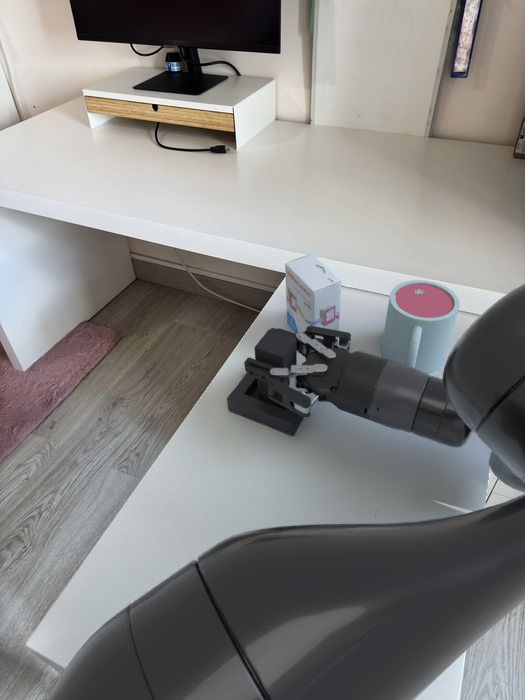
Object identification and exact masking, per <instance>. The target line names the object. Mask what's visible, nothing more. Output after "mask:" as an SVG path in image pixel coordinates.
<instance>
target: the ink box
mask: <svg viewBox="0 0 525 700" xmlns="http://www.w3.org/2000/svg"><path fill="white" fill-rule="evenodd" d="M284 269H285V272H284V273H285V275H284V276H285V297H286V299H285V300H286V301H285V302H286V322H287V324H288V325H289V326H290V327H291V328H292V330H293V331H294V333H296V334H297V333H299V332H302V333H303V332H304V331H306V328H307V327H308V326H316V327H321V328H326V329H332V330H337V331H340V314H341V313H340V312H341V295H342V280H341V278H340V277H339V276H338V275H337V274H335V272H333V271H332V270H331V268H329V267H328V266H327V265H326V264H325V263H324V262H323V261H321V259H319V258H318V256H317V255H316V254H311V253H308V254H306V255H303V256H300V257H298V258H294V259H292V260H290V261H286V262H285V263H284ZM315 338H320V339H324V338H323V337H322V336H317V335H315Z"/></svg>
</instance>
